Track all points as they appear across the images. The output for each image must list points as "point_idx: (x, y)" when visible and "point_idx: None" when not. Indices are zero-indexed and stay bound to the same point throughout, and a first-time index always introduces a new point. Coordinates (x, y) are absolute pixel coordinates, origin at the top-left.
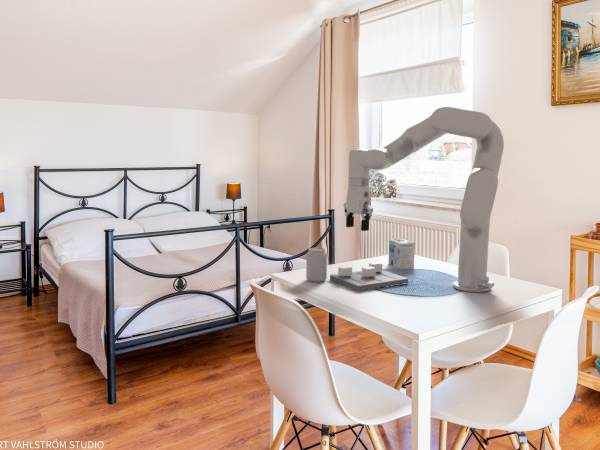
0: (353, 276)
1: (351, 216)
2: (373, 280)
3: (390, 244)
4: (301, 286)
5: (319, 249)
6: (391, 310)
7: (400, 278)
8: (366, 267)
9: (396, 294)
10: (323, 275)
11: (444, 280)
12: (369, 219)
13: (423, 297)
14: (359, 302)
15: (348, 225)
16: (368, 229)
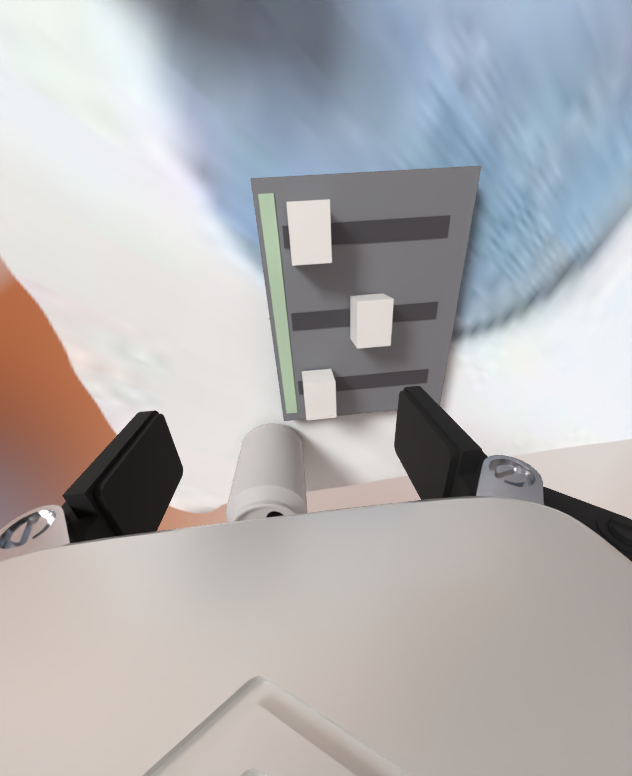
0: (337, 365)
1: (103, 526)
2: (418, 331)
3: None
4: (314, 490)
5: (250, 512)
6: (589, 404)
7: (459, 204)
8: (364, 330)
9: (523, 314)
10: (302, 450)
11: None
12: (513, 467)
13: (606, 253)
14: (499, 434)
15: (176, 472)
16: (418, 390)
